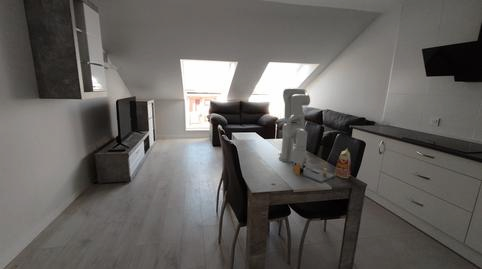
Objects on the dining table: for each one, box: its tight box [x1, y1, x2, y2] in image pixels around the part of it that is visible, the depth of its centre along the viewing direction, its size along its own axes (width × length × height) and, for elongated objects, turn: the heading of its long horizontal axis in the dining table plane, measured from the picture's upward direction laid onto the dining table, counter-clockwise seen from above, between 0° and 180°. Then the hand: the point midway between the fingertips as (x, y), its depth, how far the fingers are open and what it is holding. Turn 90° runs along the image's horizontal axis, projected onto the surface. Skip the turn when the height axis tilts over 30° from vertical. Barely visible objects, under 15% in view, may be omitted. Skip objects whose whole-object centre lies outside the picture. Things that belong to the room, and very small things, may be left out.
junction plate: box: [300, 167, 336, 184], centre depth 162 cm, size 16×18×6 cm
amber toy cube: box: [292, 164, 302, 176], centre depth 165 cm, size 5×5×6 cm
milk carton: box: [333, 148, 351, 179], centre depth 164 cm, size 9×9×20 cm
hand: (298, 171), depth 166 cm, fingers closed on amber toy cube, 5 cm apart
